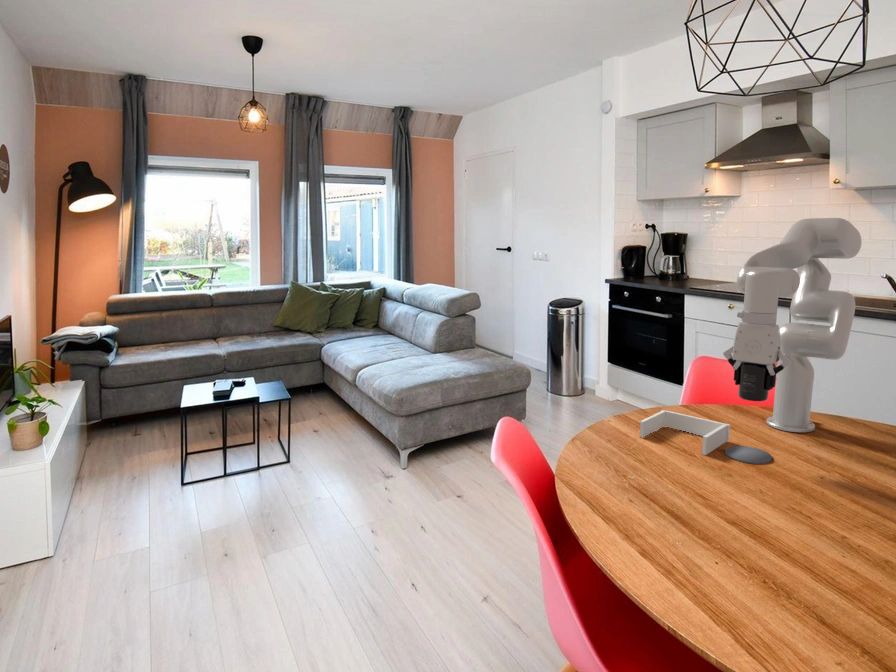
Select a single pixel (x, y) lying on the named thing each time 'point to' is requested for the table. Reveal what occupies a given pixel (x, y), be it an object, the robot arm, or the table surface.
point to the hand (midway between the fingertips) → (753, 385)
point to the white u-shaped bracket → (689, 428)
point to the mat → (748, 454)
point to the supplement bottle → (753, 382)
